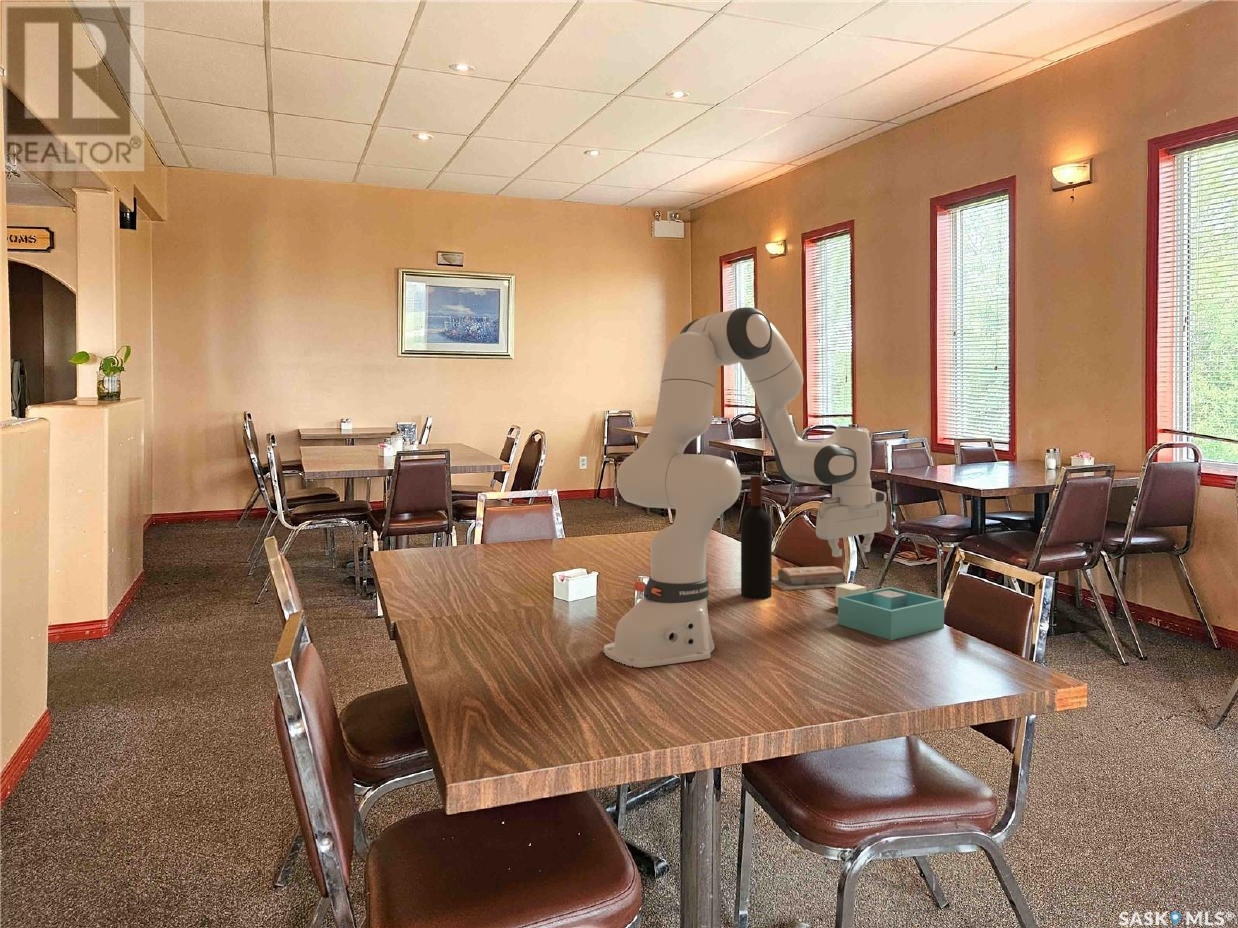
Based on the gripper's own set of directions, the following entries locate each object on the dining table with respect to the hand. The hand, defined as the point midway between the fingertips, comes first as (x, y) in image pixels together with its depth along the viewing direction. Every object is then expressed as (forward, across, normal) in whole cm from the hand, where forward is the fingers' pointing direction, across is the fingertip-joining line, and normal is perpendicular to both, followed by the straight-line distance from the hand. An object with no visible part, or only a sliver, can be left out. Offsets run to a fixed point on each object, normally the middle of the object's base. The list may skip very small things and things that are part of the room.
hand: (851, 554), depth 197 cm
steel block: (+11, -6, -16) cm, 21 cm away
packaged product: (+14, +8, +22) cm, 27 cm away
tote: (+12, -5, -16) cm, 21 cm away
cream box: (+13, 0, 0) cm, 13 cm away
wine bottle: (+13, -11, +21) cm, 27 cm away
